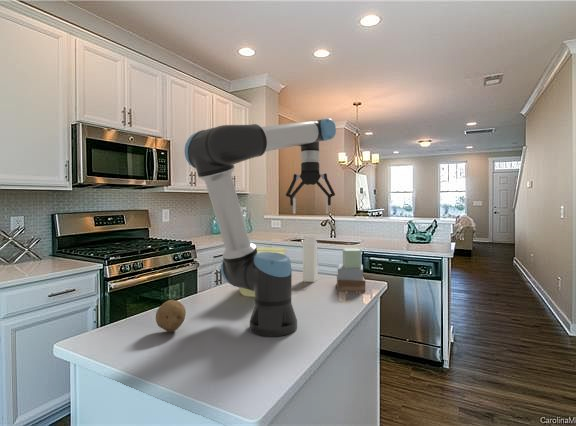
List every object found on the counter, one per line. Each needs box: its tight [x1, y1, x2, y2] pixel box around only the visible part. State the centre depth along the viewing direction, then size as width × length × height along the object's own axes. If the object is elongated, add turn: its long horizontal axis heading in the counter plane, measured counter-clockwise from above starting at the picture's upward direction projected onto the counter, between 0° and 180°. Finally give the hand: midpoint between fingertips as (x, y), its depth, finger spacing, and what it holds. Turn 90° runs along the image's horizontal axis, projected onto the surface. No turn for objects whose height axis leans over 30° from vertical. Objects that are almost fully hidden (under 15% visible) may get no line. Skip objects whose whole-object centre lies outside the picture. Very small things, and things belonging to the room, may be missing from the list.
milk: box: [302, 236, 319, 283], centre depth 171 cm, size 6×6×22 cm
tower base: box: [336, 273, 366, 292], centre depth 158 cm, size 12×12×5 cm
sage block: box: [342, 247, 362, 269], centre depth 157 cm, size 7×7×8 cm
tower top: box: [337, 263, 364, 281], centre depth 157 cm, size 11×11×5 cm
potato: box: [155, 299, 186, 333], centre depth 106 cm, size 9×9×10 cm
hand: (310, 213), depth 142 cm, fingers open, 13 cm apart
